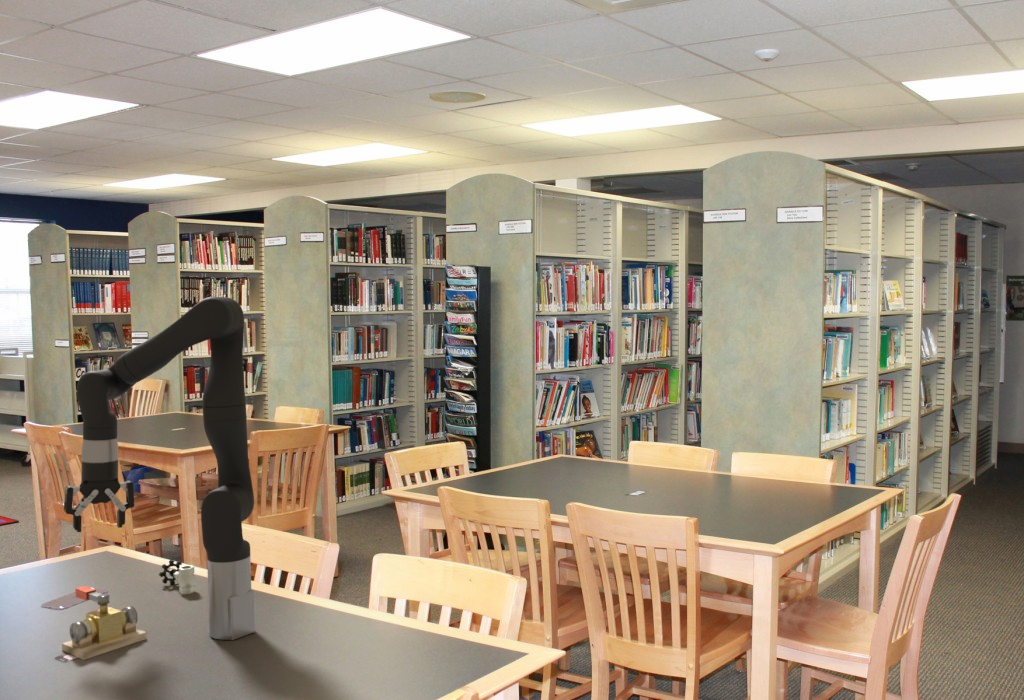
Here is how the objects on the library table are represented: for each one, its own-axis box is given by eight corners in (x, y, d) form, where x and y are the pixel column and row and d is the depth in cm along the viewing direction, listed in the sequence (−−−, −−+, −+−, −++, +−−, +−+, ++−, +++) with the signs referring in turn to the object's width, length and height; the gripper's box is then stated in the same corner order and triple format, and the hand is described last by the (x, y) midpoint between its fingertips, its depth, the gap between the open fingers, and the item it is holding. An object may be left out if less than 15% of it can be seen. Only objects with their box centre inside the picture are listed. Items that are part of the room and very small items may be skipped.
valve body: (139, 631, 194) (138, 597, 194) (81, 649, 184) (80, 614, 183) (126, 626, 197) (125, 593, 197) (68, 644, 187) (67, 610, 186)
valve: (203, 591, 226) (183, 581, 235) (202, 566, 226) (183, 557, 235) (177, 597, 222) (159, 587, 231) (177, 571, 222) (158, 562, 230)
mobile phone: (38, 604, 216) (88, 586, 230) (38, 608, 216) (88, 589, 230) (61, 607, 213) (110, 589, 227) (61, 611, 213) (110, 592, 227)
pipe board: (146, 638, 194) (145, 622, 193) (84, 659, 182) (83, 642, 182) (124, 630, 199) (123, 614, 199) (62, 650, 188) (61, 633, 187)
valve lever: (111, 603, 190) (111, 594, 190) (101, 606, 188) (100, 597, 188) (85, 594, 197) (85, 585, 197) (75, 597, 195) (75, 588, 195)
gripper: (68, 463, 190) (67, 537, 191) (137, 458, 199) (136, 529, 199) (62, 458, 196) (61, 529, 197) (129, 453, 205) (129, 521, 205)
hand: (99, 529), depth 198 cm, fingers open, 8 cm apart
